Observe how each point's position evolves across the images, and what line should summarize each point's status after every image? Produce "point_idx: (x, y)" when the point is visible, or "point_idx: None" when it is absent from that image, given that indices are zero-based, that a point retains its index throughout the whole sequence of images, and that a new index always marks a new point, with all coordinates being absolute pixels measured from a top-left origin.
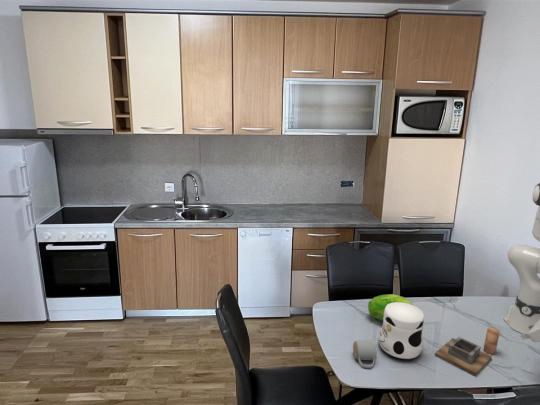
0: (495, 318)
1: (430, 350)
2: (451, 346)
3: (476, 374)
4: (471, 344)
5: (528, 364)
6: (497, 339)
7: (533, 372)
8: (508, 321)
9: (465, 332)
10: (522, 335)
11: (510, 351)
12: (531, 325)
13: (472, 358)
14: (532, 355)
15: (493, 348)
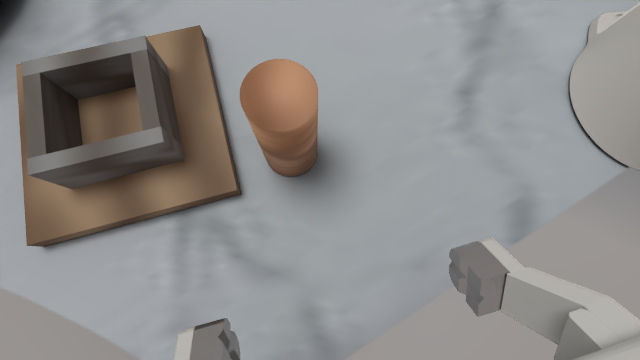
0: (561, 3)
1: (51, 44)
2: (24, 75)
3: (52, 242)
4: (140, 106)
5: (378, 297)
6: (283, 146)
7: (340, 350)
8: (594, 42)
9: (323, 19)
10: (178, 353)
11: (390, 192)
12: (478, 273)
13: (71, 177)
14: None
15: (275, 162)
